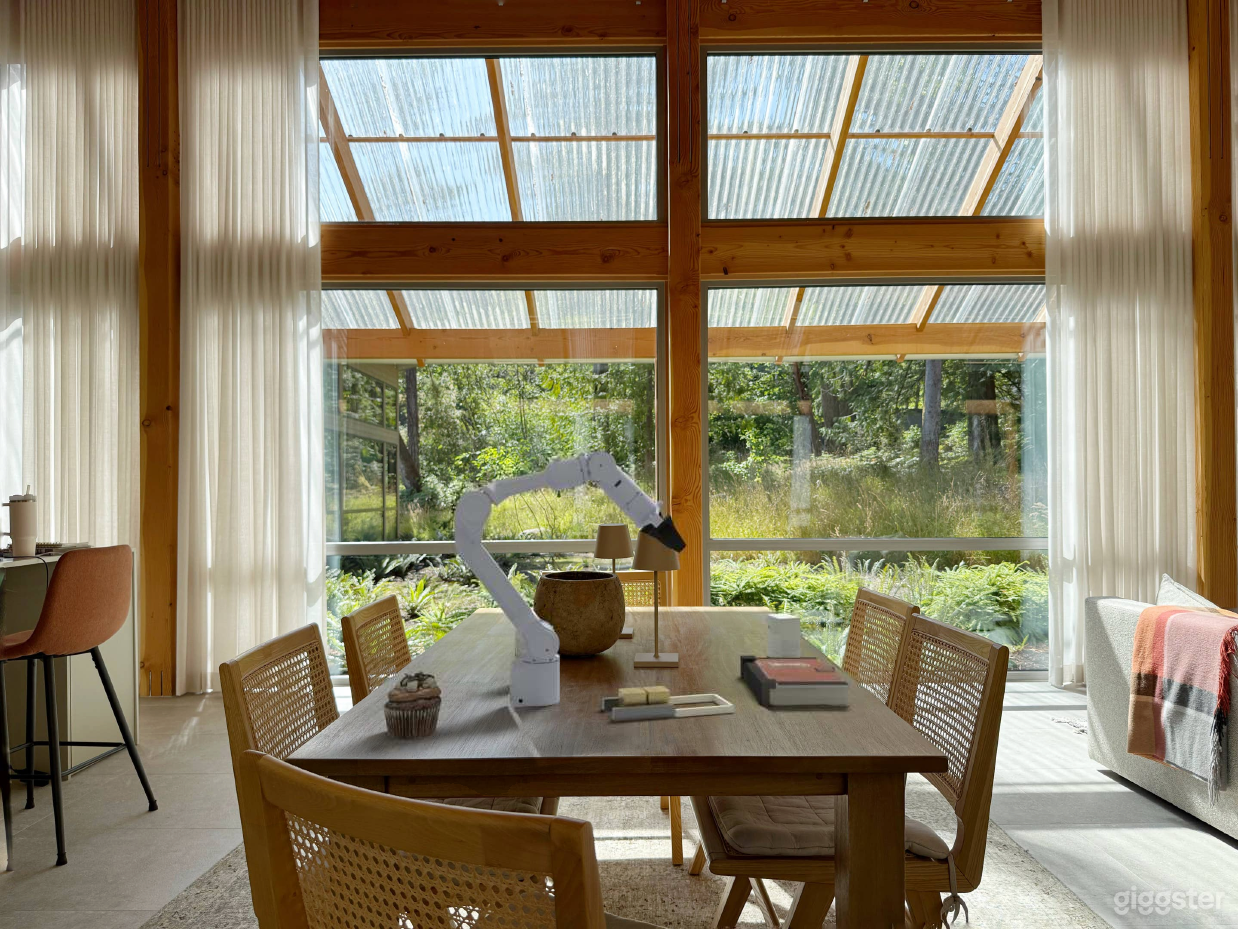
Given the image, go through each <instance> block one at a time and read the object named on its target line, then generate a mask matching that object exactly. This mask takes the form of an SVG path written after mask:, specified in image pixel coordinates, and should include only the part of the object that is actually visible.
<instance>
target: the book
mask: <svg viewBox="0 0 1238 929" xmlns="http://www.w3.org/2000/svg"><path fill="white" fill-rule="evenodd" d="M739 657H740V662H739V663H740V668H739V669H740V677H741V679H742V680H745V681H746V682H747V683H748V685H749V687H750V688H751V690H753V692H754V694H755V695H756V696H757V698H758V703H759V705H760V706H761V707H762V708H769V707H770V708H773V707H775V708H787V707H788V708H790V707H791V708H794V707H795V708H797V707H798V708H799V707H800V708H801V707H802V706H803V708H804V706H805V708H807V706H808V707H809V706H840V707H850V704H849V702H848V689H850V684H849V683H848V682H847V681H845V680H844V679H843V678H842V677H841V676H840V675H838V674H837V673H835V667H831V666H827V665H826V664H825V663H823V662H822V661H821V660H819V659H818V658H817V657H816V656H815V657H814V656H813V657H810V656H808V657H804V656H801V657H776V658H770V657H756V656H755V655H754V654H753V655H750V654H749V655H747V654H746V655H744V654H743V655H740V656H739Z"/></svg>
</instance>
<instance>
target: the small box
mask: <svg viewBox="0 0 1238 929" xmlns="http://www.w3.org/2000/svg"><path fill="white" fill-rule="evenodd" d="M765 616H766V619H765V620H766V653H767V654H766V656H767V658H776V657H802V642H801V641H802V639H801V636H802V635H801V617H798V616H795V615H792V614H789V613H767V614H766V615H765Z"/></svg>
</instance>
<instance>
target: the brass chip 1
mask: <svg viewBox="0 0 1238 929" xmlns="http://www.w3.org/2000/svg"><path fill="white" fill-rule="evenodd" d="M618 697H619V707H629V706H642V705H646V692H645V691H644V690H642V687H625V688H618Z"/></svg>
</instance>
